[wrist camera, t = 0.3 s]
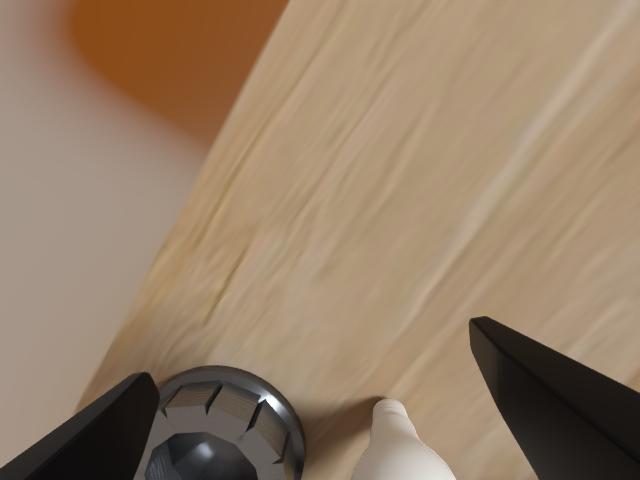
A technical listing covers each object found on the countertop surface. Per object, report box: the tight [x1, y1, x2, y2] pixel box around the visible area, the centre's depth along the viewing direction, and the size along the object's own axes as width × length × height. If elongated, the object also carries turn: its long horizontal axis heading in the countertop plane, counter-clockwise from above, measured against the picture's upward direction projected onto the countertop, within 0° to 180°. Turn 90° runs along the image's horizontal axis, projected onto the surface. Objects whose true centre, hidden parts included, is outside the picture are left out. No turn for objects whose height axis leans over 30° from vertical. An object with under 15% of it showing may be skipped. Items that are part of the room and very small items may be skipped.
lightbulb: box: [351, 398, 456, 480], centre depth 20 cm, size 6×6×11 cm
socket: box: [133, 366, 306, 480], centre depth 25 cm, size 14×14×4 cm
